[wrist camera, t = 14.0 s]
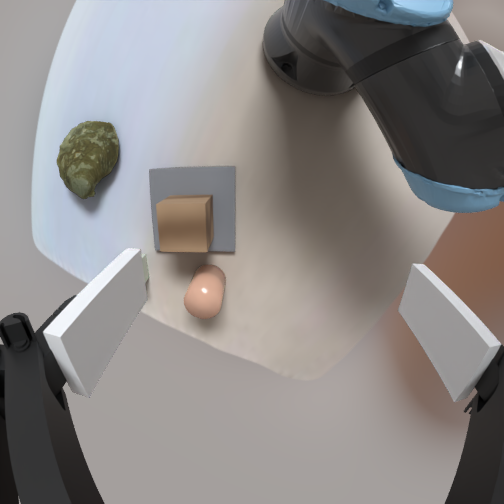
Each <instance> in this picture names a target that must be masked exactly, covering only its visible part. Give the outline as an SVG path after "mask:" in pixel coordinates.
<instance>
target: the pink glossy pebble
mask: <svg viewBox="0 0 504 504" xmlns="http://www.w3.org/2000/svg"><path fill="white" fill-rule="evenodd" d="M225 283H226V277H225V274H224V272H223V271H222V270H221V269H220V268H218V267H217V266H214V265H203V266H201V267H199V268H198V269H197V270H196V272H195V274H194V276H193V278H192V281H191V283H190V285H189V287H188V290H187V292H186V294H185V297H184V305H185V307H186V309H187V311H188V312H189V313H190V314H192V315H193V316H195V317H197V318H201V319H208V318H212V317H214V316H215V315H217V314H218V312H219V311H220V308H221V303H222V298H223V293H224V288H225Z"/></svg>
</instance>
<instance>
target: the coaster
mask: <svg viewBox="0 0 504 504" xmlns="http://www.w3.org/2000/svg"><path fill="white" fill-rule="evenodd" d="M149 177H150V195H151V210H152V222H153V233H154V243H155V250H160V243H159V233H158V222H157V210H156V204H157V203H159V202H161V201H162V200H164V199H165V198H167V197H169V196H170V195H213V226H214V237H213V240H212V242H211V244H210V247H209V249H208V251H235V166H202V167H175V168H157V169H149Z"/></svg>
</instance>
